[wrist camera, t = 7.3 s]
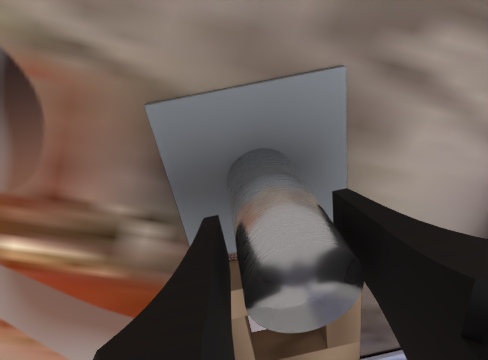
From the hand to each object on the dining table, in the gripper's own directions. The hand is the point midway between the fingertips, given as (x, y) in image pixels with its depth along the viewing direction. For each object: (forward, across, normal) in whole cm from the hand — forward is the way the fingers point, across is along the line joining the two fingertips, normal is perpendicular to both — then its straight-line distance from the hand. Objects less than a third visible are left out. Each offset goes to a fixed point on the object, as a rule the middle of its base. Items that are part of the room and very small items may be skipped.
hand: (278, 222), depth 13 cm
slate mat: (+5, 0, 0) cm, 5 cm away
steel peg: (+4, 0, 0) cm, 5 cm away
